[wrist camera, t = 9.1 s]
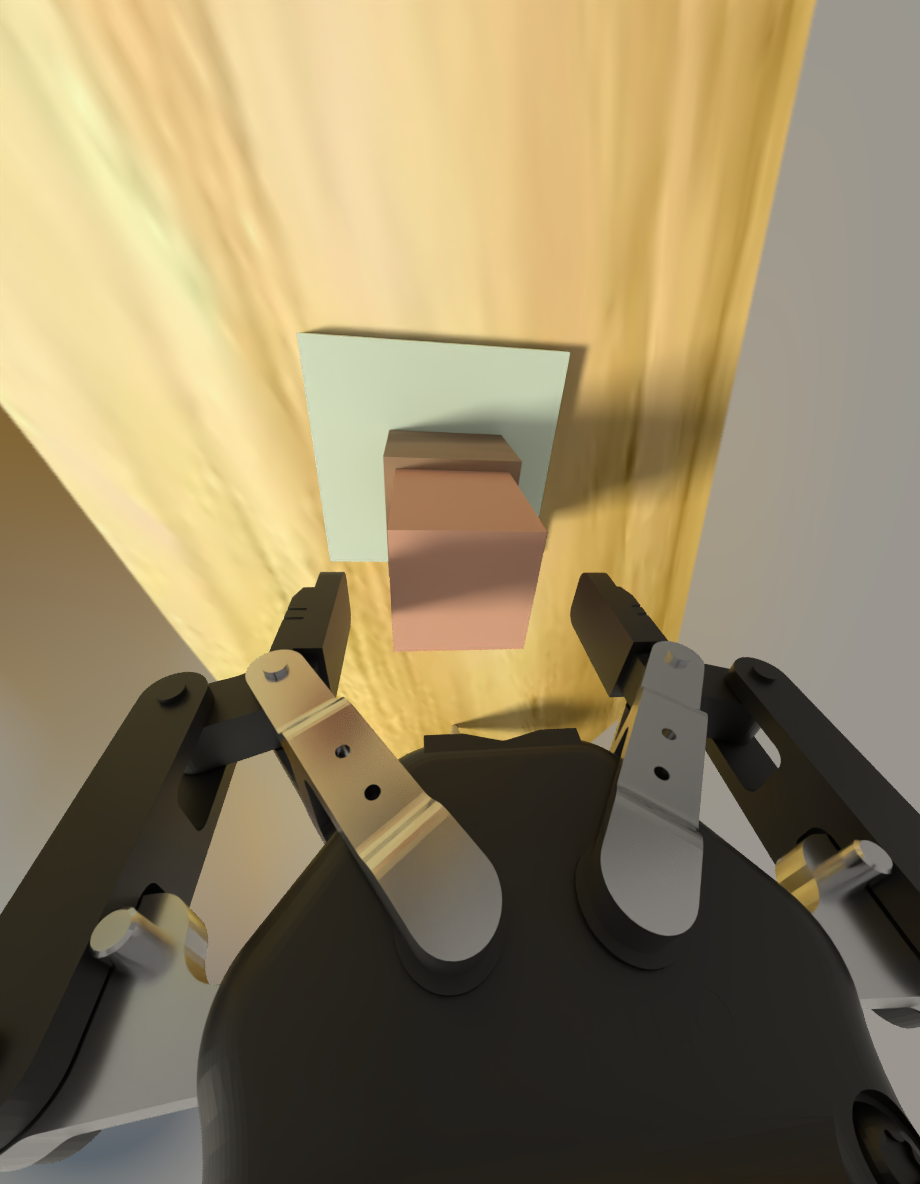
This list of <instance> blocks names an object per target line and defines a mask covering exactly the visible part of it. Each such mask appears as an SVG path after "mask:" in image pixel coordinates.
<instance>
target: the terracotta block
mask: <svg viewBox="0 0 920 1184" xmlns="http://www.w3.org/2000/svg"><path fill="white" fill-rule="evenodd" d="M387 533H388V552H389V571H390V590H391V610H392V629H393V648H394V652H404V651H445V650H486V649H524V644H525V639H526V634H527V629H528V624H529V620H530V615H531V610H532V605H533V600H534V595H535V591H536V586H537V581H538V576H539V571H540V566H541V562H542V557H543V552H544V547H545V542H546V537H547V533H548V532H547V530H546V528H545V527H544V525H543V524H542V522H541V521H540V519H539V518H538V516H537V515H536V513H535V511H534V510H533V508H532V507H531V505H530V504H529V502H528V501H527V499H526V497H525V496H524V494H523V493H522V491H521V490H520V488H519V487H518V485H517V483H516V482H515V480H514V479H513V477H512V476H511V474H510V473H509V472H483V471H449V470H415V469H395V475H394V482H393V490H392V498H391V506H390V513H389V521H388V529H387Z"/></svg>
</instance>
